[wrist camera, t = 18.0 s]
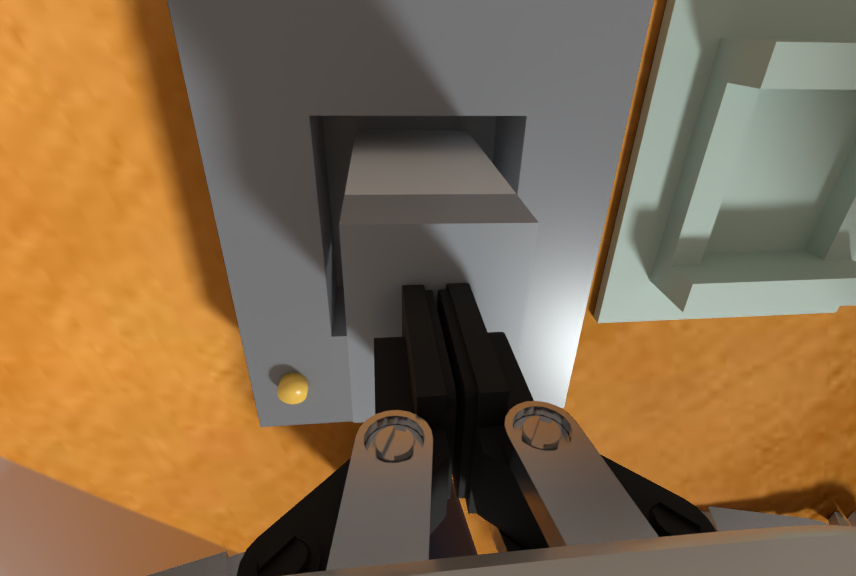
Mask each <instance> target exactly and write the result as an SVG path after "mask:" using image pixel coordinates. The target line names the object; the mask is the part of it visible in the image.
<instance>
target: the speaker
mask: <svg viewBox="0 0 856 576" xmlns="http://www.w3.org/2000/svg"><path fill="white" fill-rule="evenodd" d="M471 555H478V554H477V551H476V548H475V545H474V542H473V539H472V536H471V534H470V531H469V528H468V525H467V522H466V519H465V516H464V513H463V510H462V507H461V504H460V501H459V498H457V496H456V492H455V486H454V483H453V480H452V481H451V496H450V499H447V510H446V517H445V518H444V519H443V521H442V522H441V523H440V524H439V525H438V526H437V528H436V529H435V530H434V531H433V532H432V534H431V535H430V542H429V560H432V559H442V558H452V557H461V556H471Z"/></svg>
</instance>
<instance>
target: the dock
mask: <svg viewBox="0 0 856 576" xmlns="http://www.w3.org/2000/svg"><path fill="white" fill-rule="evenodd" d="M167 2H168V7H169V11H170V16H171V20H172V25H173V30H174V34H175V39H176V43H177V48H178V52H179V57H180V62H181V66H182V71H183V75H184V80H185V84H186V89H187V93H188V98H189V103H190V107H191V112H192V116H193V121H194V125H195V130H196V134H197V139H198V144H199V148H200V153H201V157H202V162H203V166H204V171H205V176H206V180H207V185H208V189H209V194H210V198H211V203H212V207H213V212H214V217H215V221H216V226H217V230H218V235H219V239H220V244H221V249H222V253H223V258H224V262H225V267H226V271H227V276H228V280H229V285H230V290H231V294H232V299H233V303H234V308H235V312H236V317H237V321H238V326H239V331H240V335H241V340H242V344H243V349H244V353H245V358H246V363H247V367H248V372H249V376H250V381H251V385H252V390H253V394H254V399H255V404H256V408H257V413H258V417H259V422H260V426H261V427H270V426H286V425H301V424H317V423H333V422H349V421H353V413H352V399H351V385H350V371H349V357H348V343H347V329H346V315H345V301H344V287H343V273H342V259H341V245H340V231H339V222H340V217H341V211H342V206H343V200H344V195H345V189H346V183H347V178H348V172H349V167H350V161H351V156H352V150H353V145H354V139H355V134H356V129H387V130H467V131H468V132H469V134H470V135H471V136H472V137H473V139H474V140H475V141H476V143H477V144H478V145H479V146H480V148H481V149H482V150H483V152H484V153H485V154H486V155H487V157H488V158H489V159H490V161H491V162H492V163H493V164H494V166H495V167H496V168H497V170H498V171H499V172H500V173H501V175H502V176H503V177H504V179H505V180H506V181H507V182H508V184H509V185H510V186H511V188H512V189H513V190H514V191H515V193H516V194H517V195H518V197H519V198H520V199H521V200H522V202H523V203H524V204H525V206H526V207H527V208H528V209H529V211H530V212H531V213H532V215H533V216H534V217H535V218H536V220H537V221H538V222H539V225H538V232H537V238H536V245H535V251H534V258H533V264H532V271H531V277H530V284H529V290H528V297H527V303H526V309H525V316H524V322H523V329H522V335H521V342H520V348H519V355H518V361H517V362H518V365H519V367H520V369H521V372H522V374H523V376H524V379H525V381H526V383H527V386H528V388H529V390H530V393H531V395H532V397H533V400H534V401H541V402H547V403H550V404H553V405H556V406H558V407H560V408H564V405H565V400H566V396H567V391H568V387H569V382H570V378H571V373H572V369H573V364H574V360H575V355H576V351H577V346H578V342H579V337H580V333H581V328H582V324H583V319H584V315H585V310H586V306H587V301H588V296H589V292H590V287H591V283H592V278H593V274H594V269H595V265H596V260H597V256H598V251H599V247H600V242H601V238H602V233H603V229H604V224H605V220H606V215H607V211H608V206H609V202H610V197H611V193H612V188H613V184H614V179H615V175H616V170H617V166H618V161H619V156H620V152H621V147H622V143H623V138H624V134H625V129H626V125H627V120H628V116H629V111H630V107H631V102H632V98H633V93H634V89H635V84H636V80H637V75H638V71H639V66H640V62H641V57H642V53H643V48H644V44H645V39H646V35H647V30H648V26H649V21H650V16H651V12H652V7H653V3H654V0H167Z"/></svg>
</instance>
